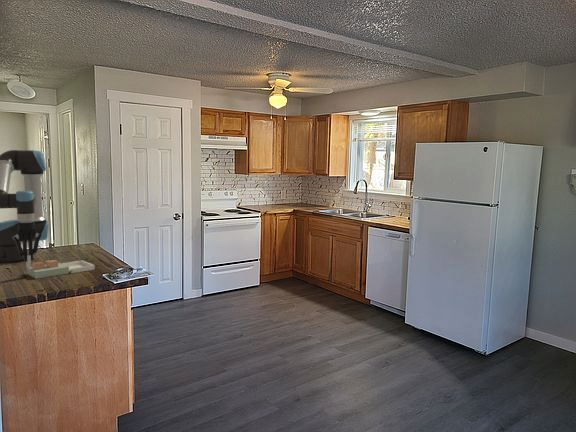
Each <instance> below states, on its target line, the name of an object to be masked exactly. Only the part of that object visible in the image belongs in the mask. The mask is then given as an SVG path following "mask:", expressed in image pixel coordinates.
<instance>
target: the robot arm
mask: <svg viewBox="0 0 576 432" xmlns="http://www.w3.org/2000/svg"><path fill="white" fill-rule="evenodd" d="M13 171H17V172H18V171H20V175H22V176H23V179H24V180H23V181H24V183H23V184H24V190H19V191H16V193H9V191H10V184H11V183H10V182H11V177H12V176H11V175H12V173H13ZM46 171H47V165H46V159H45V156H44V153H43V152H42V151H40V150H25V149H24V150H17V149H14V150H13V149H11V150H8V151H4V152H2V153H1V154H0V209H1V210H2V209H16V215H17V219H10V220H3V221H1V222H0V263H12V262H13V263H14V262H20V261H23V262H24V263H25V266H26V267H25V268H26V269H27V268H31V267H32V262H33V261H34V254H36V253H37V252H38V248H39V243H40V241H46V240H47V239H48V237H49V235H48V234H49V226H50V221H49V220H47V217H46V216H44V210H43V209H44V208H43V207H44V206H43V189H42V176H43V175H44V172H46ZM33 242H34V243H33Z"/></svg>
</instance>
